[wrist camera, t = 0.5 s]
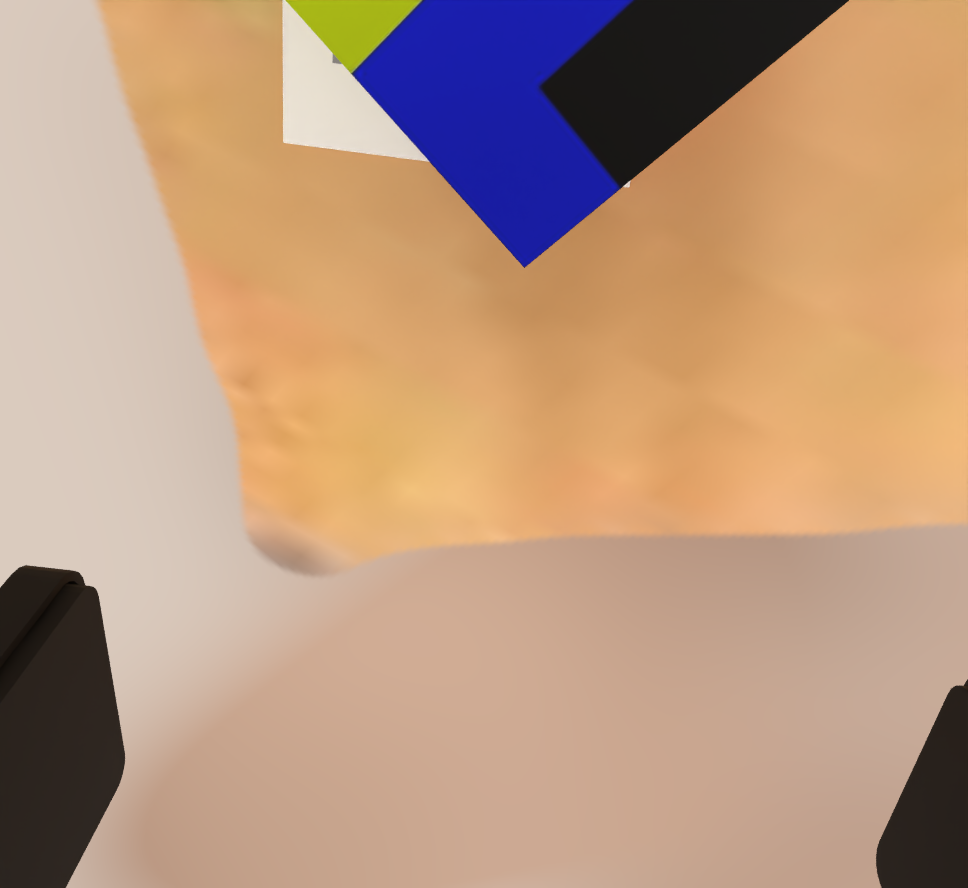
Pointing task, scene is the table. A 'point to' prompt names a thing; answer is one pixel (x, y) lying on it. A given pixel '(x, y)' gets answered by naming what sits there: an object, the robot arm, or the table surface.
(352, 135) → the letter
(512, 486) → the table surface
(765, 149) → the table surface
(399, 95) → the puzzle toy
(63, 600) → the robot arm
